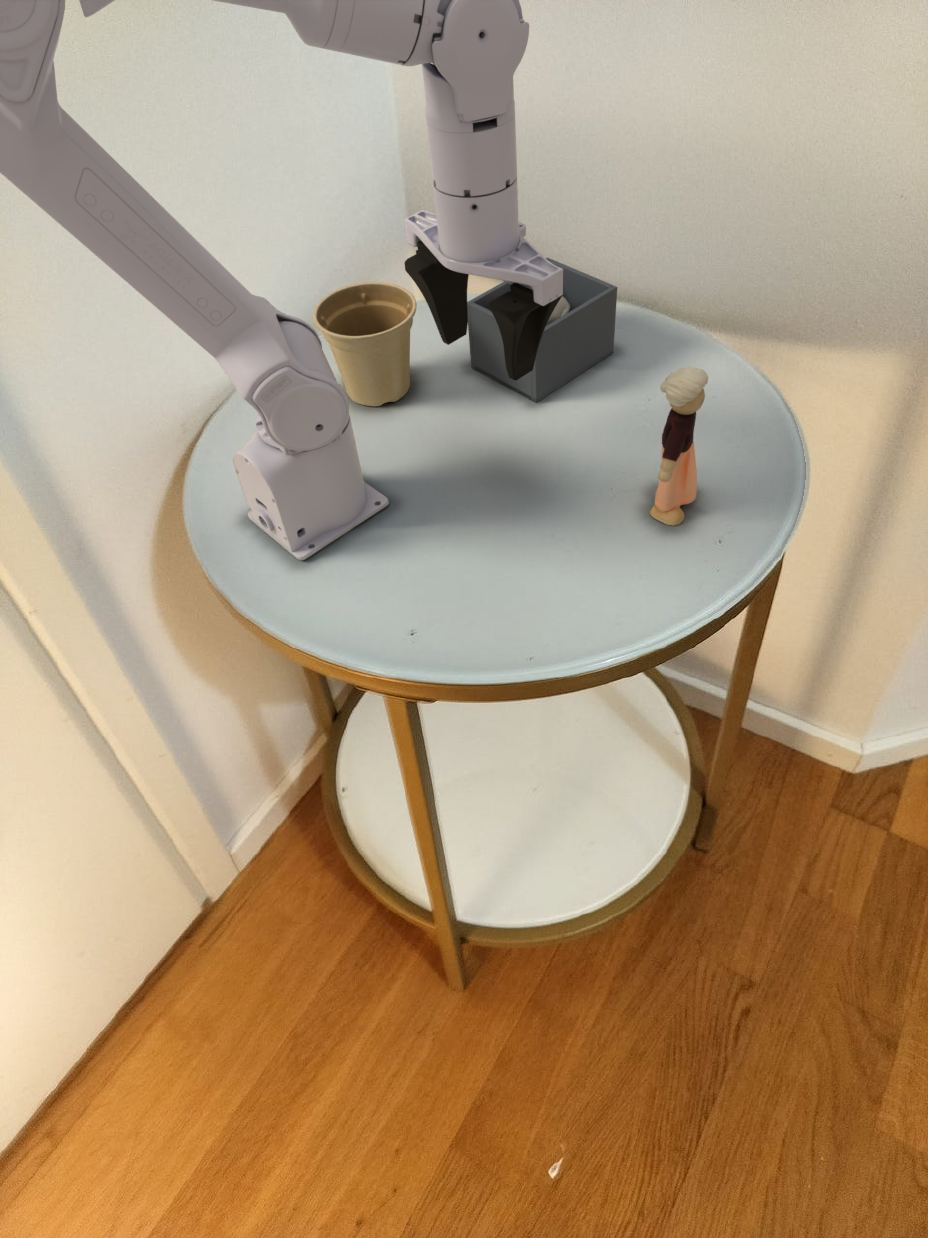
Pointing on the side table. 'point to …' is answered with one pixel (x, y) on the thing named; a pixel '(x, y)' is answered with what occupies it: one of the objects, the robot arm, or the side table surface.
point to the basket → (549, 336)
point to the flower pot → (369, 339)
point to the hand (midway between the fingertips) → (487, 355)
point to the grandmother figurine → (679, 444)
